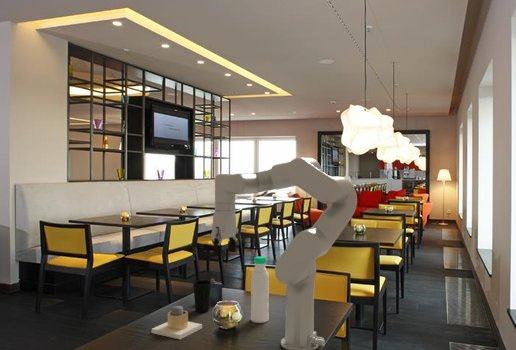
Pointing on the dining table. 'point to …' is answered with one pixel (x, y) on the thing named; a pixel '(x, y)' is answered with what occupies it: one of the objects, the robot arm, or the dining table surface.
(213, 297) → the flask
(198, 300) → the cup
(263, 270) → the water bottle
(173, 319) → the collar
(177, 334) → the stand
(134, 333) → the dining table surface
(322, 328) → the dining table surface
